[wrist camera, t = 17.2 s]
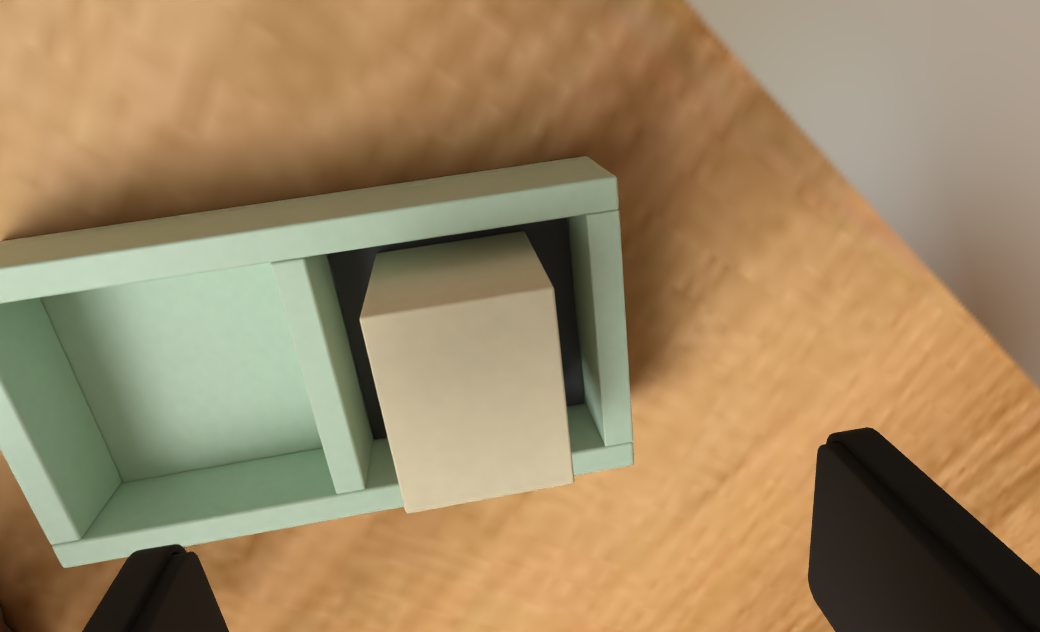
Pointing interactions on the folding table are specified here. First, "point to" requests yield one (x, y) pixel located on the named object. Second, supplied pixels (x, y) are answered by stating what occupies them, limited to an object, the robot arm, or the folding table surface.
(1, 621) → the figurine
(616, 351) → the pad tray
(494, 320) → the beige block
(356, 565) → the folding table surface
